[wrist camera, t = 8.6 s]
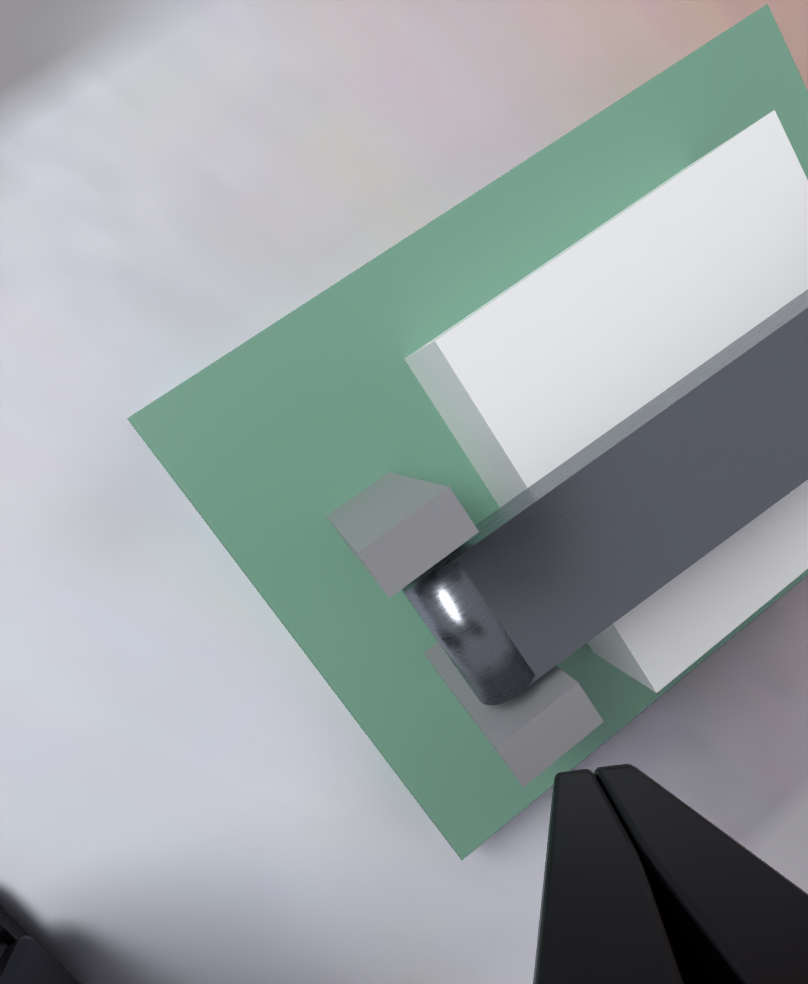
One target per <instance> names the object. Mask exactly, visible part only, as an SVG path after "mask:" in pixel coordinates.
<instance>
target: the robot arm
mask: <svg viewBox="0 0 808 984" xmlns="http://www.w3.org/2000/svg"><path fill="white" fill-rule="evenodd" d="M0 984H78V983H77V982H76V981H75V980H74V979H73V978H72V976H71V975H70V974H69V973H68V972H67V971H66V970H65V969H64V968H63V967H62V966H61V965H60V964H59V963H58V962H57V961H56V960H55V959H54V958H53V957H52V956H51V955H50V954H49V953H48V952H47V951H46V950H45V949H44V948H43V947H42V946H41V945H40V944H39V943H38V942H37V940H36V939H34V938H32V937H30V936H29V935H28V934H27V933H26V932H25V931H24V930H23V929H22V928H21V927H20V926H19V925H18V924H17V923H16V922H15V920H14V919H13V918H12V917H11V916H10V915H9V914H8V913H7V912H6V911H5V910H4V909H3V908H2V907H1V906H0ZM533 984H808V894H807V893H805V892H804V891H803V890H802V889H800V888H799V887H797V886H796V885H795V884H793V883H792V882H791V881H789V880H788V879H787V878H785V877H784V876H782V875H781V874H780V873H778V872H777V871H776V870H774V869H773V868H772V867H770V866H769V865H768V864H766V863H765V862H764V861H762V860H761V859H760V858H758V857H757V856H755V855H754V854H753V853H751V852H750V851H749V850H747V849H746V848H745V847H743V846H742V845H741V844H739V843H738V842H737V841H735V840H734V839H732V838H731V837H730V836H728V835H727V834H726V833H724V832H723V831H722V830H720V829H719V828H718V827H716V826H715V825H714V824H712V823H711V822H709V821H708V820H707V819H705V818H704V817H703V816H701V815H700V814H699V813H697V812H696V811H695V810H693V809H692V808H691V807H689V806H688V805H686V804H685V803H684V802H682V801H681V800H680V799H678V798H677V797H676V796H674V795H673V794H672V793H670V792H669V791H668V790H666V789H665V788H663V787H662V786H661V785H659V784H658V783H657V782H655V781H654V780H653V779H651V778H650V777H649V776H647V775H646V774H645V773H643V772H642V771H640V770H639V769H638V768H636V767H635V766H632V765H630V764H622V765H614V766H606V767H599V768H597V769H596V770H595V771H594V773H593V772H592V771H590V770H588V769H582V770H574V771H566V772H559V773H557V774H556V775H555V777H554V784H553V794H552V804H551V814H550V823H549V833H548V843H547V853H546V862H545V872H544V882H543V892H542V901H541V911H540V921H539V931H538V940H537V950H536V960H535V970H534V979H533Z"/></svg>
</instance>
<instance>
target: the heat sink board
mask: <svg viewBox="0 0 808 984" xmlns="http://www.w3.org/2000/svg"><path fill="white" fill-rule="evenodd" d="M807 289H808V91H807V89H806V87H805V84H804V82H803V80H802V78H801V76H800V74H799V71H798V69H797V67H796V65H795V63H794V61H793V58H792V56H791V54H790V52H789V50H788V47H787V45H786V43H785V41H784V39H783V37H782V34H781V32H780V30H779V28H778V26H777V24H776V21H775V19H774V17H773V15H772V13H771V10H770V8H769V6H768V4H767V5H765V6H763V7H762V8H760V9H759V10H757V11H756V12H754V13H753V14H751V15H750V16H748V17H746V18H745V19H743V20H742V21H740V22H739V23H737V24H736V25H734V26H733V27H731V28H729V29H728V30H726V31H725V32H723V33H722V34H720V35H719V36H717V37H716V38H714V39H712V40H711V41H709V42H708V43H706V44H705V45H703V46H702V47H700V48H699V49H697V50H696V51H694V52H692V53H691V54H689V55H688V56H686V57H685V58H683V59H682V60H680V61H679V62H677V63H675V64H674V65H672V66H671V67H669V68H668V69H666V70H665V71H663V72H662V73H660V74H658V75H657V76H655V77H654V78H652V79H651V80H649V81H648V82H646V83H645V84H643V85H641V86H640V87H638V88H637V89H635V90H634V91H632V92H631V93H629V94H628V95H626V96H624V97H623V98H621V99H620V100H618V101H617V102H615V103H614V104H612V105H611V106H609V107H608V108H606V109H604V110H603V111H601V112H600V113H598V114H597V115H595V116H594V117H592V118H591V119H589V120H587V121H586V122H584V123H583V124H581V125H580V126H578V127H577V128H575V129H574V130H572V131H570V132H569V133H567V134H566V135H564V136H563V137H561V138H560V139H558V140H557V141H555V142H553V143H552V144H550V145H549V146H547V147H546V148H544V149H543V150H541V151H540V152H538V153H536V154H535V155H533V156H532V157H530V158H529V159H527V160H526V161H524V162H523V163H521V164H519V165H518V166H516V167H515V168H513V169H512V170H510V171H509V172H507V173H506V174H504V175H503V176H501V177H499V178H498V179H496V180H495V181H493V182H492V183H490V184H489V185H487V186H486V187H484V188H482V189H481V190H479V191H478V192H476V193H475V194H473V195H472V196H470V197H469V198H467V199H465V200H464V201H462V202H461V203H459V204H458V205H456V206H455V207H453V208H452V209H450V210H448V211H447V212H445V213H444V214H442V215H441V216H439V217H438V218H436V219H435V220H433V221H431V222H430V223H428V224H427V225H425V226H424V227H422V228H421V229H419V230H418V231H416V232H415V233H413V234H411V235H410V236H408V237H407V238H405V239H404V240H402V241H401V242H399V243H398V244H396V245H394V246H393V247H391V248H390V249H388V250H387V251H385V252H384V253H382V254H381V255H379V256H377V257H376V258H374V259H373V260H371V261H370V262H368V263H367V264H365V265H364V266H362V267H360V268H359V269H357V270H356V271H354V272H353V273H351V274H350V275H348V276H347V277H345V278H343V279H342V280H340V281H339V282H337V283H336V284H334V285H333V286H331V287H330V288H328V289H327V290H325V291H323V292H322V293H320V294H319V295H317V296H316V297H314V298H313V299H311V300H310V301H308V302H306V303H305V304H303V305H302V306H300V307H299V308H297V309H296V310H294V311H293V312H291V313H289V314H288V315H286V316H285V317H283V318H282V319H280V320H279V321H277V322H276V323H274V324H272V325H271V326H269V327H268V328H266V329H265V330H263V331H262V332H260V333H259V334H257V335H255V336H254V337H252V338H251V339H249V340H248V341H246V342H245V343H243V344H242V345H240V346H239V347H237V348H235V349H234V350H232V351H231V352H229V353H228V354H226V355H225V356H223V357H222V358H220V359H218V360H217V361H215V362H214V363H212V364H211V365H209V366H208V367H206V368H205V369H203V370H201V371H200V372H198V373H197V374H195V375H194V376H192V377H191V378H189V379H188V380H186V381H184V382H183V383H181V384H180V385H178V386H177V387H175V388H174V389H172V390H171V391H169V392H167V393H166V394H164V395H163V396H161V397H160V398H158V399H157V400H155V401H154V402H152V403H151V404H149V405H147V406H146V407H144V408H143V409H141V410H140V411H138V412H137V413H135V414H134V415H132V416H130V417H129V418H127V419H128V420H129V422H130V423H131V424H132V426H133V427H134V428H135V430H136V431H137V432H138V434H139V435H140V436H141V437H142V439H143V440H144V441H145V443H146V444H147V445H148V447H149V448H150V449H151V451H152V452H153V453H154V455H155V456H156V457H157V459H158V460H159V461H160V463H161V464H162V465H163V467H164V468H165V469H166V470H167V472H168V473H169V474H170V476H171V477H172V478H173V480H174V481H175V482H176V484H177V485H178V486H179V488H180V489H181V490H182V492H183V493H184V494H185V496H186V497H187V498H188V500H189V501H190V502H191V503H192V505H193V506H194V507H195V509H196V510H197V511H198V513H199V514H200V515H201V517H202V518H203V519H204V521H205V522H206V523H207V525H208V526H209V527H210V529H211V530H212V531H213V533H214V534H215V535H216V536H217V538H218V539H219V540H220V542H221V543H222V544H223V546H224V547H225V548H226V550H227V551H228V552H229V554H230V555H231V556H232V558H233V559H234V560H235V562H236V563H237V564H238V566H239V567H240V568H241V569H242V571H243V572H244V573H245V575H246V576H247V577H248V579H249V580H250V581H251V583H252V584H253V585H254V587H255V588H256V589H257V591H258V592H259V593H260V595H261V596H262V597H263V599H264V600H265V601H266V602H267V604H268V605H269V606H270V608H271V609H272V610H273V612H274V613H275V614H276V616H277V617H278V618H279V620H280V621H281V622H282V624H283V625H284V626H285V628H286V629H287V630H288V632H289V633H290V634H291V635H292V637H293V638H294V639H295V641H296V642H297V643H298V645H299V646H300V647H301V649H302V650H303V651H304V653H305V654H306V655H307V657H308V658H309V659H310V661H311V662H312V663H313V665H314V666H315V667H316V668H317V670H318V671H319V672H320V674H321V675H322V676H323V678H324V679H325V680H326V682H327V683H328V684H329V686H330V687H331V688H332V690H333V691H334V692H335V694H336V695H337V696H338V698H339V699H340V700H341V701H342V703H343V704H344V705H345V707H346V708H347V709H348V711H349V712H350V713H351V715H352V716H353V717H354V719H355V720H356V721H357V723H358V724H359V725H360V727H361V728H362V729H363V731H364V732H365V733H366V734H367V736H368V737H369V738H370V740H371V741H372V742H373V744H374V745H375V746H376V748H377V749H378V750H379V752H380V753H381V754H382V756H383V757H384V758H385V760H386V761H387V762H388V764H389V765H390V766H391V767H392V769H393V770H394V771H395V773H396V774H397V775H398V777H399V778H400V779H401V781H402V782H403V783H404V785H405V786H406V787H407V789H408V790H409V791H410V793H411V794H412V795H413V797H414V798H415V799H416V800H417V802H418V803H419V804H420V806H421V807H422V808H423V810H424V811H425V812H426V814H427V815H428V816H429V818H430V819H431V820H432V822H433V823H434V824H435V826H436V827H437V828H438V830H439V831H440V832H441V833H442V835H443V836H444V837H445V839H446V840H447V841H448V843H449V844H450V845H451V847H452V848H453V849H454V851H455V852H456V853H457V855H458V856H459V857H460V859H461V860H463V859H464V858H465V857H466V856H468V855H469V854H470V853H471V852H473V851H474V850H475V849H476V848H477V847H479V846H480V845H481V844H482V843H483V842H485V841H486V840H487V839H488V838H489V837H491V836H492V835H493V834H494V833H496V832H497V831H498V830H499V829H500V828H502V827H503V826H504V825H505V824H506V823H508V822H509V821H510V820H511V819H512V818H514V817H515V816H516V815H517V814H519V813H520V812H521V811H522V810H523V809H525V808H526V807H527V806H528V805H529V804H531V803H532V802H533V801H534V800H535V799H537V798H538V797H539V796H540V795H542V794H543V793H544V792H545V791H546V790H548V789H549V788H550V787H551V786H552V785H553V784H554V777H555V775H556V774H557V773H559V772H566V771H571V770H572V769H573V768H574V767H575V766H577V765H578V764H579V763H580V762H581V761H583V760H584V759H585V758H586V757H588V756H589V755H590V754H591V753H592V752H594V751H595V750H596V749H597V748H598V747H600V746H601V745H602V744H603V743H605V742H606V741H607V740H608V739H609V738H611V737H612V736H613V735H614V734H615V733H617V732H618V731H619V730H620V729H621V728H623V727H624V726H625V725H626V724H628V723H629V722H630V721H631V720H632V719H634V718H635V717H636V716H637V715H638V714H640V713H641V712H642V711H643V710H644V709H646V708H647V707H648V706H649V705H651V704H652V703H653V702H654V701H655V700H657V699H658V698H659V697H660V696H661V695H663V694H664V693H665V692H666V691H667V690H669V689H670V688H671V687H672V686H674V685H675V684H676V683H677V682H678V681H680V680H681V679H682V678H683V677H684V676H686V675H687V674H688V673H689V672H690V671H692V670H693V669H694V668H695V667H697V666H698V665H699V664H700V663H701V662H703V661H704V660H705V659H706V658H707V657H709V656H710V655H711V654H712V653H713V652H715V651H716V650H717V649H718V648H720V647H721V646H722V645H723V644H724V643H726V642H727V641H728V640H729V639H730V638H732V637H733V636H734V635H735V634H736V633H738V632H739V631H740V630H741V629H743V628H744V627H745V626H746V625H747V624H749V623H750V622H751V621H752V620H753V619H755V618H756V617H757V616H758V615H759V614H761V613H762V612H763V611H764V610H766V609H767V608H768V607H769V606H770V605H772V604H773V603H774V602H775V601H776V600H778V599H779V598H780V597H781V596H782V595H784V594H785V593H786V592H787V591H789V590H790V589H791V588H792V587H793V586H795V585H796V584H797V583H798V582H799V581H801V580H802V579H803V578H804V577H806V576H807V575H808V480H806V481H805V482H804V483H802V484H801V485H800V486H798V487H797V488H796V489H794V490H793V491H791V492H790V493H789V494H787V495H786V496H785V497H783V498H782V499H781V500H779V501H778V502H777V503H775V504H774V505H773V506H771V507H770V508H768V509H767V510H766V511H764V512H763V513H762V514H760V515H759V516H758V517H756V518H755V519H754V520H752V521H751V522H750V523H748V524H747V525H746V526H744V527H743V528H741V529H740V530H739V531H737V532H736V533H735V534H733V535H732V536H731V537H729V538H728V539H727V540H725V541H724V542H723V543H721V544H720V545H718V546H717V547H716V548H714V549H713V550H712V551H710V552H709V553H708V554H706V555H705V556H704V557H702V558H701V559H700V560H698V561H697V562H696V563H694V564H693V565H691V566H690V567H689V568H687V569H686V570H685V571H683V572H682V573H681V574H679V575H678V576H677V577H675V578H674V579H673V580H671V581H670V582H668V583H667V584H666V585H664V586H663V587H662V588H660V589H659V590H658V591H656V592H655V593H654V594H652V595H651V596H650V597H648V598H647V599H646V600H644V601H643V602H641V603H640V604H639V605H637V606H636V607H635V608H633V609H632V610H631V611H629V612H628V613H627V614H625V615H624V616H623V617H621V618H620V619H618V620H617V621H616V622H614V623H613V624H612V625H610V626H609V627H608V628H606V629H605V630H604V631H602V632H601V633H600V634H598V635H597V636H596V637H594V638H593V639H591V640H590V641H589V642H587V643H586V644H585V645H583V646H582V647H581V648H579V649H578V650H577V651H575V652H574V653H573V654H571V655H570V656H568V657H567V658H566V659H564V660H563V661H562V662H560V663H559V664H558V665H556V666H555V667H554V668H552V669H551V670H550V671H548V672H547V673H546V674H544V675H543V676H541V677H540V678H539V679H537V680H536V681H535V682H533V683H532V684H531V685H529V686H528V687H527V688H526V689H525V690H524V691H523V692H521V693H520V694H519V695H517V696H516V697H514V698H513V699H511V700H509V701H507V702H504V703H501V704H498V705H485V704H483V703H481V702H480V701H479V700H478V698H477V697H476V695H475V694H474V692H473V691H472V690H471V688H470V687H469V685H468V684H467V682H466V681H465V680H464V678H463V677H462V675H461V674H460V672H459V671H458V670H457V668H456V667H455V665H454V664H453V663H452V661H451V660H450V658H449V657H448V655H447V654H446V653H445V651H444V650H443V648H442V647H441V645H440V644H439V643H438V641H437V640H436V638H435V637H434V635H433V634H432V633H431V631H430V630H429V628H428V627H427V626H426V624H425V623H424V621H423V620H422V618H421V617H420V616H419V614H418V613H417V611H416V610H415V608H414V607H413V606H412V604H411V603H410V601H409V600H408V598H407V597H406V596H405V594H404V593H403V591H402V589H403V588H404V587H405V586H407V585H408V584H409V583H411V582H412V581H413V580H415V579H416V578H418V577H419V576H420V575H422V574H423V573H424V572H426V571H427V570H428V569H430V568H431V567H432V566H434V565H435V564H436V563H438V562H439V561H440V560H442V559H443V558H445V557H446V556H447V555H449V554H450V553H451V552H453V551H454V550H455V549H457V548H458V547H459V546H461V545H462V544H463V543H465V542H466V541H467V540H469V539H470V538H472V537H473V536H474V535H476V534H477V533H478V532H479V531H478V529H477V528H476V526H475V525H476V524H478V523H479V522H481V521H482V520H483V519H485V518H486V517H488V516H489V515H490V514H492V513H493V512H495V511H496V510H497V509H499V508H500V507H502V506H503V505H505V504H506V503H507V502H509V501H510V500H512V499H513V498H514V497H516V496H517V495H519V494H520V493H521V492H523V491H524V490H526V489H527V488H528V487H530V486H531V485H533V484H534V483H535V482H537V481H538V480H540V479H541V478H543V477H544V476H545V475H547V474H548V473H550V472H551V471H552V470H554V469H555V468H557V467H558V466H559V465H561V464H562V463H564V462H565V461H566V460H568V459H569V458H571V457H572V456H574V455H575V454H576V453H578V452H579V451H581V450H582V449H583V448H585V447H586V446H588V445H589V444H590V443H592V442H593V441H595V440H596V439H597V438H599V437H600V436H602V435H603V434H604V433H606V432H607V431H609V430H610V429H612V428H613V427H614V426H616V425H617V424H619V423H620V422H621V421H623V420H624V419H626V418H627V417H628V416H630V415H631V414H633V413H634V412H635V411H637V410H638V409H640V408H641V407H643V406H644V405H645V404H647V403H648V402H650V401H651V400H652V399H654V398H655V397H657V396H658V395H659V394H661V393H662V392H664V391H665V390H666V389H668V388H669V387H671V386H672V385H673V384H675V383H676V382H678V381H679V380H681V379H682V378H683V377H685V376H686V375H688V374H689V373H690V372H692V371H693V370H695V369H696V368H697V367H699V366H700V365H702V364H703V363H704V362H706V361H707V360H709V359H710V358H712V357H713V356H714V355H716V354H717V353H719V352H720V351H721V350H723V349H724V348H726V347H727V346H728V345H730V344H731V343H733V342H734V341H735V340H737V339H738V338H740V337H741V336H743V335H744V334H745V333H747V332H748V331H750V330H751V329H752V328H754V327H755V326H757V325H758V324H759V323H761V322H762V321H764V320H765V319H766V318H768V317H769V316H771V315H772V314H773V313H775V312H776V311H778V310H779V309H781V308H782V307H783V306H785V305H786V304H788V303H789V302H790V301H792V300H793V299H795V298H796V297H797V296H799V295H800V294H802V293H803V292H804V291H806V290H807Z"/></svg>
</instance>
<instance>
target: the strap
mask: <svg viewBox="0 0 808 984" xmlns="http://www.w3.org/2000/svg"><path fill="white" fill-rule="evenodd" d="M806 480H808V289H807V290H806V291H804V292H803V293H802V294H800V295H799V296H797V297H796V298H795V299H793V300H792V301H790V302H789V303H788V304H786V305H785V306H783V307H782V308H781V309H779V310H778V311H776V312H775V313H773V314H772V315H771V316H769V317H768V318H766V319H765V320H764V321H762V322H761V323H759V324H758V325H757V326H755V327H754V328H752V329H751V330H750V331H748V332H747V333H745V334H744V335H743V336H741V337H740V338H738V339H737V340H735V341H734V342H733V343H731V344H730V345H728V346H727V347H726V348H724V349H723V350H721V351H720V352H719V353H717V354H716V355H714V356H713V357H712V358H710V359H709V360H707V361H706V362H704V363H703V364H702V365H700V366H699V367H697V368H696V369H695V370H693V371H692V372H690V373H689V374H688V375H686V376H685V377H683V378H682V379H681V380H679V381H678V382H676V383H675V384H673V385H672V386H671V387H669V388H668V389H666V390H665V391H664V392H662V393H661V394H659V395H658V396H657V397H655V398H654V399H652V400H651V401H650V402H648V403H647V404H645V405H644V406H643V407H641V408H640V409H638V410H637V411H635V412H634V413H633V414H631V415H630V416H628V417H627V418H626V419H624V420H623V421H621V422H620V423H619V424H617V425H616V426H614V427H613V428H612V429H610V430H609V431H607V432H606V433H604V434H603V435H602V436H600V437H599V438H597V439H596V440H595V441H593V442H592V443H590V444H589V445H588V446H586V447H585V448H583V449H582V450H581V451H579V452H578V453H576V454H575V455H574V456H572V457H571V458H569V459H568V460H566V461H565V462H564V463H562V464H561V465H559V466H558V467H557V468H555V469H554V470H552V471H551V472H550V473H548V474H547V475H545V476H544V477H543V478H541V479H540V480H538V481H537V482H535V483H534V484H533V485H531V486H530V487H528V488H527V489H526V490H524V491H523V492H521V493H520V494H519V495H517V496H516V497H514V498H513V499H512V500H510V501H509V502H507V503H506V504H505V505H503V506H502V507H500V508H499V509H497V510H496V511H495V512H493V513H492V514H490V515H489V516H488V517H486V518H485V519H483V520H482V521H481V522H479V523H478V524H476V525H475V526H476V528H477V529H478V531H479V532H478V533H477V534H476V535H474V536H473V537H472V538H470V539H469V540H467V541H466V542H465V543H463V544H462V545H461V546H459V547H458V548H457V549H455V550H454V551H453V552H451V553H450V554H449V555H447V556H446V557H445V558H443V559H442V560H440V561H439V562H438V563H436V564H435V565H434V566H432V567H431V568H430V569H428V570H427V571H426V572H424V573H423V574H422V575H420V576H419V577H418V578H416V579H415V580H413V581H412V582H411V583H409V584H408V585H407V586H405V587H404V588H403V589H402V591H403V593H404V594H405V596H406V597H407V598H408V600H409V601H410V603H411V604H412V606H413V607H414V608H415V610H416V611H417V613H418V614H419V616H420V617H421V618H422V620H423V621H424V623H425V624H426V626H427V627H428V628H429V630H430V631H431V633H432V634H433V635H434V637H435V638H436V640H437V641H438V643H439V644H440V645H441V647H442V648H443V650H444V651H445V653H446V654H447V655H448V657H449V658H450V660H451V661H452V663H453V664H454V665H455V667H456V668H457V670H458V671H459V672H460V674H461V675H462V677H463V678H464V680H465V681H466V682H467V684H468V685H469V687H470V688H471V690H472V691H473V692H474V694H475V695H476V697H477V698H478V700H479V701H480V702H481V703H483V704H485V705H498V704H501V703H504V702H507V701H509V700H511V699H513V698H514V697H516V696H517V695H519V694H520V693H521V692H523V691H524V690H525V689H526V688H527V687H528V686H529V685H531V684H532V683H533V682H535V681H536V680H537V679H539V678H540V677H541V676H543V675H544V674H546V673H547V672H548V671H550V670H551V669H552V668H554V667H555V666H556V665H558V664H559V663H560V662H562V661H563V660H564V659H566V658H567V657H568V656H570V655H571V654H573V653H574V652H575V651H577V650H578V649H579V648H581V647H582V646H583V645H585V644H586V643H587V642H589V641H590V640H591V639H593V638H594V637H596V636H597V635H598V634H600V633H601V632H602V631H604V630H605V629H606V628H608V627H609V626H610V625H612V624H613V623H614V622H616V621H617V620H618V619H620V618H621V617H623V616H624V615H625V614H627V613H628V612H629V611H631V610H632V609H633V608H635V607H636V606H637V605H639V604H640V603H641V602H643V601H644V600H646V599H647V598H648V597H650V596H651V595H652V594H654V593H655V592H656V591H658V590H659V589H660V588H662V587H663V586H664V585H666V584H667V583H668V582H670V581H671V580H673V579H674V578H675V577H677V576H678V575H679V574H681V573H682V572H683V571H685V570H686V569H687V568H689V567H690V566H691V565H693V564H694V563H696V562H697V561H698V560H700V559H701V558H702V557H704V556H705V555H706V554H708V553H709V552H710V551H712V550H713V549H714V548H716V547H717V546H718V545H720V544H721V543H723V542H724V541H725V540H727V539H728V538H729V537H731V536H732V535H733V534H735V533H736V532H737V531H739V530H740V529H741V528H743V527H744V526H746V525H747V524H748V523H750V522H751V521H752V520H754V519H755V518H756V517H758V516H759V515H760V514H762V513H763V512H764V511H766V510H767V509H768V508H770V507H771V506H773V505H774V504H775V503H777V502H778V501H779V500H781V499H782V498H783V497H785V496H786V495H787V494H789V493H790V492H791V491H793V490H794V489H796V488H797V487H798V486H800V485H801V484H802V483H804V482H805V481H806Z"/></svg>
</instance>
